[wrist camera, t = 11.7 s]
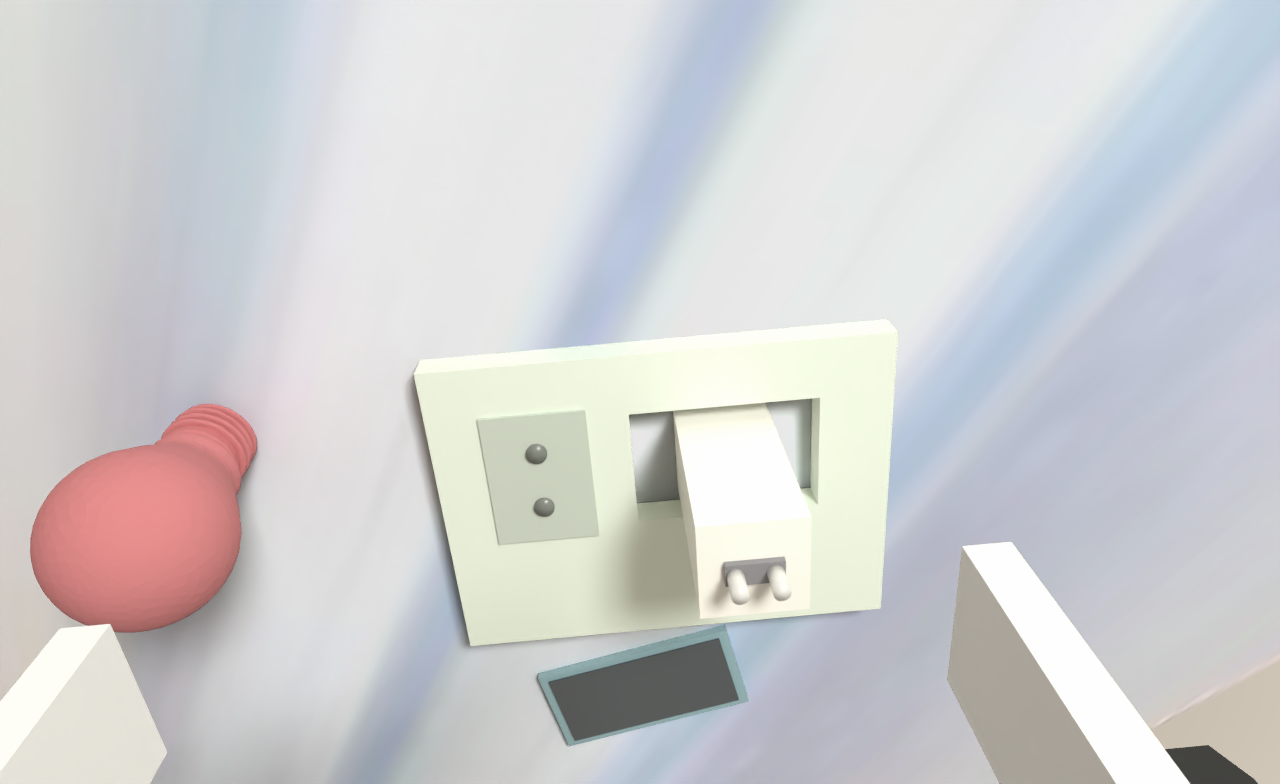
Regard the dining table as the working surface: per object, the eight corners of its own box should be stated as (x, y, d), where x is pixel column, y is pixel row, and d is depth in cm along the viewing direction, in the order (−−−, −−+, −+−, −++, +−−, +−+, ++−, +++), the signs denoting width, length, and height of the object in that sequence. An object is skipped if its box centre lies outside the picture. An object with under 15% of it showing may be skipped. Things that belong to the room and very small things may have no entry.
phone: (569, 732, 52) (569, 747, 51) (539, 666, 49) (537, 680, 48) (745, 688, 51) (749, 702, 50) (723, 618, 49) (726, 631, 48)
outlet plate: (474, 625, 47) (469, 651, 45) (419, 360, 40) (411, 377, 38) (871, 589, 47) (882, 613, 46) (887, 319, 40) (900, 335, 39)
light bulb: (242, 522, 43) (126, 702, 33) (116, 434, 41) (-55, 598, 30) (330, 435, 42) (238, 596, 31) (204, 338, 39) (56, 476, 28)
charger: (678, 487, 44) (704, 646, 33) (673, 409, 42) (699, 552, 31) (765, 479, 44) (819, 636, 34) (764, 401, 42) (821, 541, 32)
